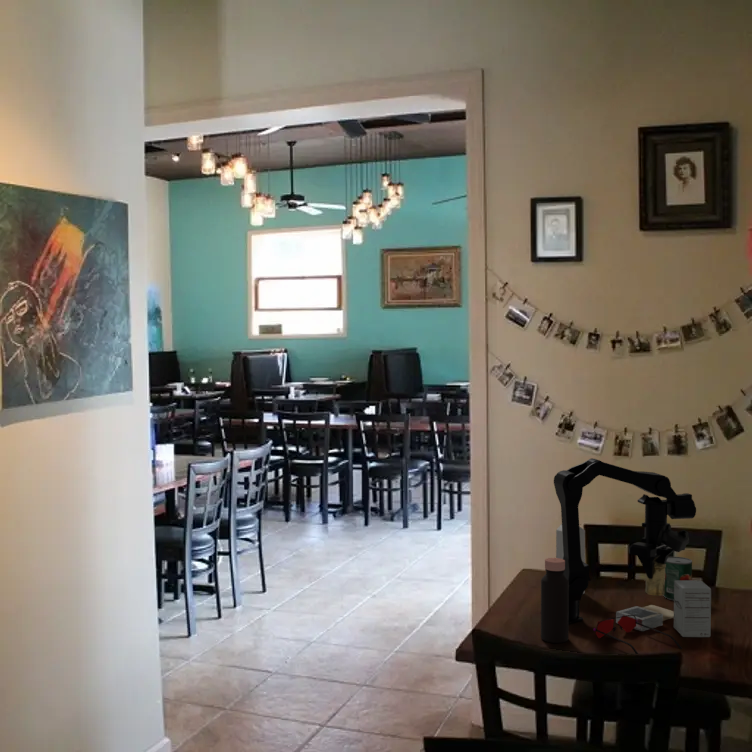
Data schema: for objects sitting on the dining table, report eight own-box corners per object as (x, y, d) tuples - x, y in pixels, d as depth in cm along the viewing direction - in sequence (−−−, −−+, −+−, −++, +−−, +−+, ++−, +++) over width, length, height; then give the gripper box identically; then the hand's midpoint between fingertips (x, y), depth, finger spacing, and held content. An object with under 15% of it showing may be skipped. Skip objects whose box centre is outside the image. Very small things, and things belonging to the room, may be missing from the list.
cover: (657, 597, 242) (657, 567, 242) (640, 592, 246) (641, 563, 246) (669, 593, 245) (670, 564, 245) (653, 589, 249) (653, 560, 249)
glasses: (634, 630, 234) (634, 611, 233) (682, 650, 219) (683, 630, 219) (592, 639, 227) (592, 619, 227) (639, 660, 212) (639, 639, 212)
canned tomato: (662, 592, 266) (663, 555, 266) (690, 594, 264) (691, 557, 264) (663, 600, 259) (664, 562, 258) (692, 602, 256) (693, 564, 256)
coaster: (658, 622, 239) (658, 620, 239) (628, 612, 247) (628, 611, 247) (682, 615, 245) (682, 613, 245) (651, 606, 253) (651, 604, 253)
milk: (568, 589, 270) (568, 516, 269) (585, 594, 265) (585, 519, 264) (555, 593, 266) (555, 519, 265) (572, 597, 261) (572, 522, 260)
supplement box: (672, 627, 234) (673, 579, 234) (701, 628, 234) (702, 579, 234) (681, 637, 227) (682, 587, 226) (711, 637, 227) (711, 587, 226)
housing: (642, 631, 232) (642, 619, 232) (615, 622, 238) (616, 611, 238) (662, 625, 237) (662, 613, 236) (636, 617, 243) (636, 606, 243)
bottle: (568, 644, 222) (569, 564, 221) (540, 642, 224) (541, 563, 223) (567, 635, 229) (568, 557, 228) (540, 633, 230) (541, 556, 229)
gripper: (667, 529, 232) (666, 589, 233) (699, 519, 246) (698, 575, 246) (628, 523, 240) (627, 581, 241) (661, 513, 254) (660, 568, 254)
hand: (655, 576), depth 246 cm, fingers closed on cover, 5 cm apart
